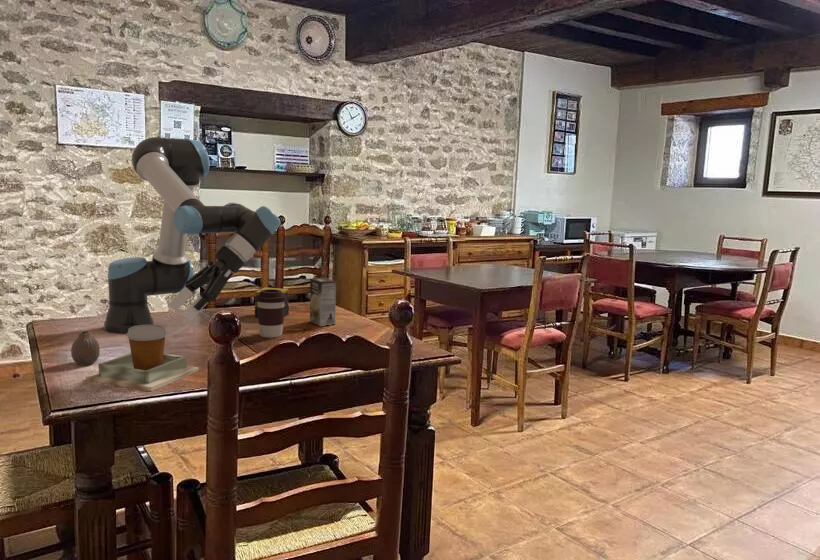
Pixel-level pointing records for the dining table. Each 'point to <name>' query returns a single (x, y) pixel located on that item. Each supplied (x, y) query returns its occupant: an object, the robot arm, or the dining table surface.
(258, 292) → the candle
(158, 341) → the disposable coffee cup
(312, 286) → the coffee box
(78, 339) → the vase
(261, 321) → the coffee cup
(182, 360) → the tray
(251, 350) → the dining table surface
